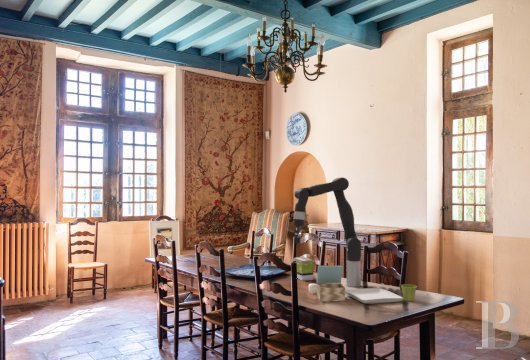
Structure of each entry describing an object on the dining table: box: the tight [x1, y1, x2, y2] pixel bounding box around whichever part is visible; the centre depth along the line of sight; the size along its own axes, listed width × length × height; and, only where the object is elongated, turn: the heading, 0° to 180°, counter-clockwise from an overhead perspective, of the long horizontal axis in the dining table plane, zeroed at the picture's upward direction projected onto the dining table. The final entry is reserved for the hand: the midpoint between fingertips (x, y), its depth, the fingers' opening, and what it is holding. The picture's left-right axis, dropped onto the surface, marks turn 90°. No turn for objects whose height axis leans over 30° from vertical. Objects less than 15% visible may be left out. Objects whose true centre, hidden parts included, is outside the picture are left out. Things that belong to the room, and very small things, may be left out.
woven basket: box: [316, 282, 346, 303], centre depth 282 cm, size 15×13×8 cm
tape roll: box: [308, 283, 317, 295], centre depth 298 cm, size 6×6×6 cm
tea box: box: [292, 256, 314, 282], centre depth 346 cm, size 15×10×15 cm
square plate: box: [345, 287, 404, 305], centre depth 283 cm, size 27×27×4 cm
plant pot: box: [400, 283, 418, 302], centre depth 279 cm, size 9×9×9 cm
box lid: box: [316, 265, 344, 284], centre depth 286 cm, size 15×13×1 cm
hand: (296, 243), depth 306 cm, fingers open, 8 cm apart
